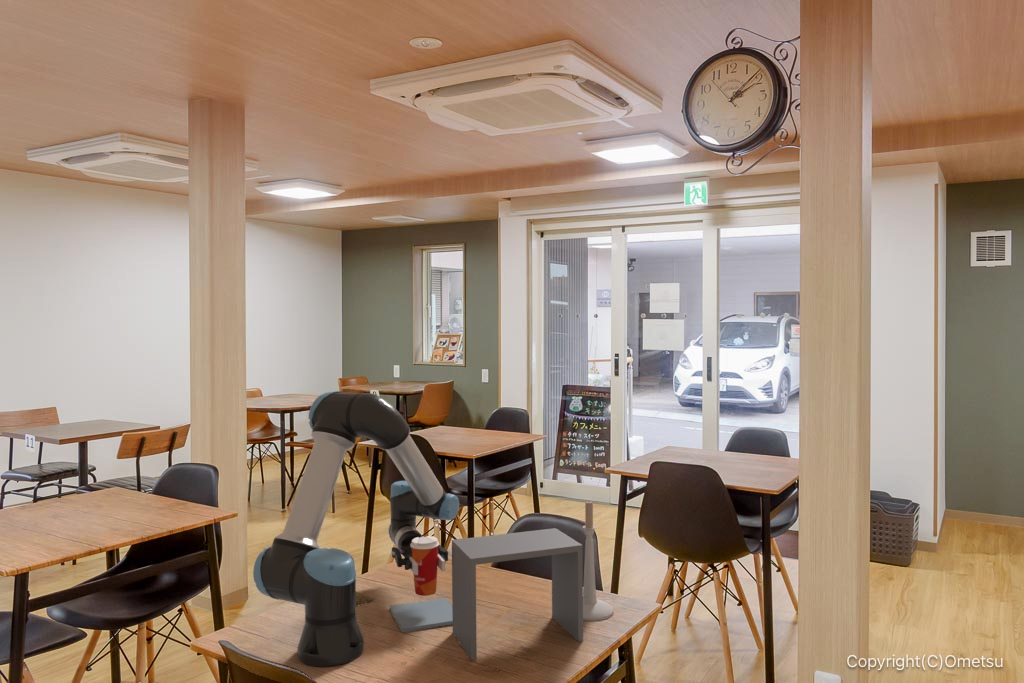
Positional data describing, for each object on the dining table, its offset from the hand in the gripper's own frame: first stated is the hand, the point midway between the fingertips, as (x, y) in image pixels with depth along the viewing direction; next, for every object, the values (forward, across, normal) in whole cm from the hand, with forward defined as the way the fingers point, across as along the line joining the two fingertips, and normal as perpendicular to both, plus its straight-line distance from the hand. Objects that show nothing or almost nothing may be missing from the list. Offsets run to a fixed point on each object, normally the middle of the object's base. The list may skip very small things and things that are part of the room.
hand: (430, 568), depth 189 cm
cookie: (-24, +18, -15) cm, 34 cm away
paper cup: (-5, 0, -8) cm, 10 cm away
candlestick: (+8, -42, -15) cm, 45 cm away
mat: (-5, 0, -14) cm, 15 cm away
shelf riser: (+16, -18, -14) cm, 28 cm away
